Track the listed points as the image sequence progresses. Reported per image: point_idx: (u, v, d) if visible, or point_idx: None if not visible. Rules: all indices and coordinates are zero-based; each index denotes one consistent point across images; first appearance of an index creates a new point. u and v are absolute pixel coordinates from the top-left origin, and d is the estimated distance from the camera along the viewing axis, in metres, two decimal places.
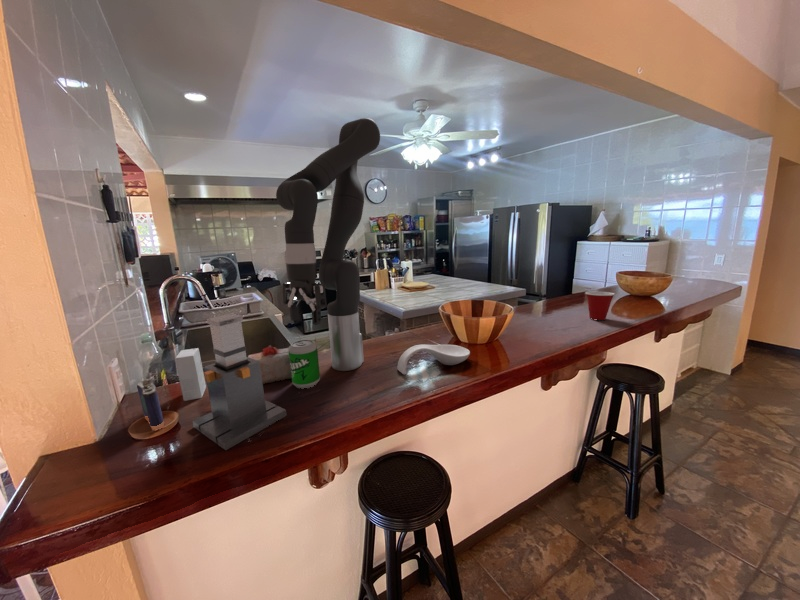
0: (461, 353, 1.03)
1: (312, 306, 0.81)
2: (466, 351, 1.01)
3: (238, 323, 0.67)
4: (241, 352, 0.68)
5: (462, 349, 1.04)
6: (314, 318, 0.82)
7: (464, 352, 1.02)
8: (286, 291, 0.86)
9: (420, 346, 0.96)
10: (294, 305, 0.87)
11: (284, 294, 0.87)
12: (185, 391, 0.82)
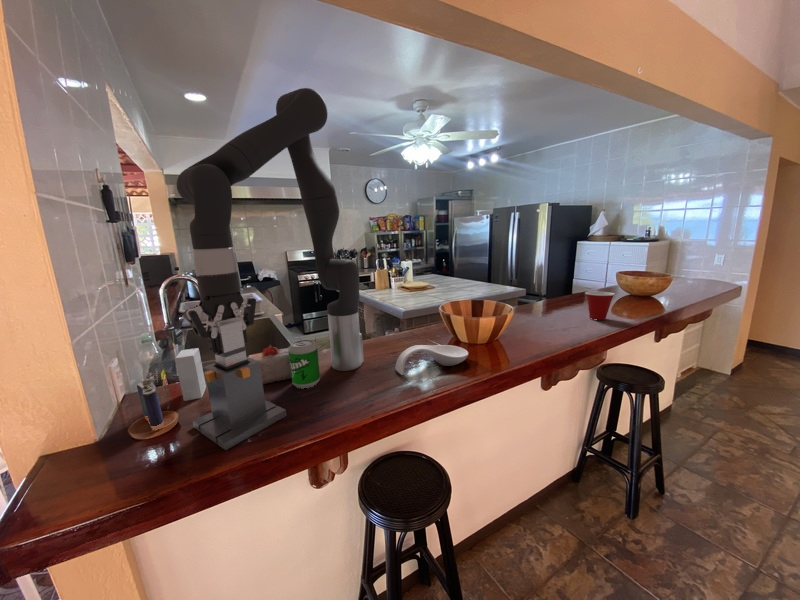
0: (459, 353, 1.03)
1: (243, 324, 0.69)
2: (465, 352, 1.01)
3: (238, 323, 0.67)
4: (241, 352, 0.68)
5: (461, 350, 1.03)
6: (244, 338, 0.70)
7: (463, 353, 1.02)
8: (199, 320, 0.62)
9: (418, 346, 0.96)
10: None
11: (199, 325, 0.62)
12: (185, 391, 0.82)
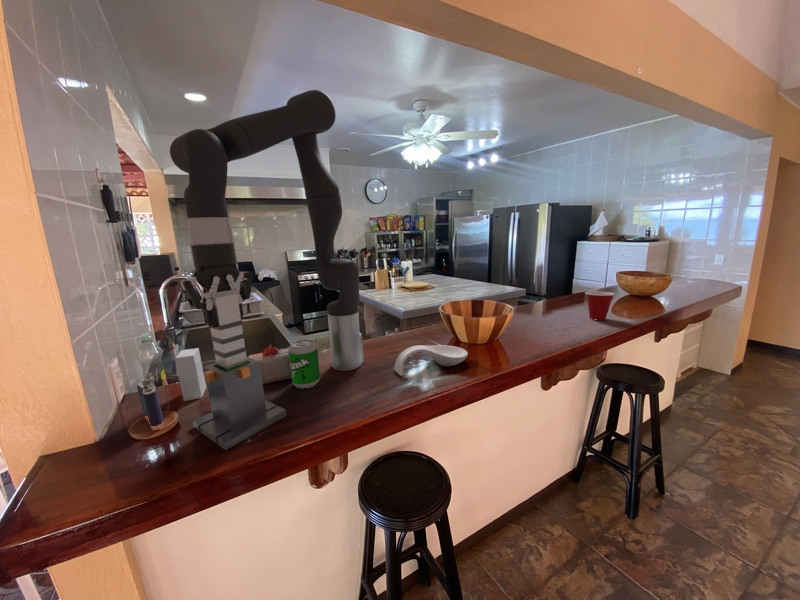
0: (459, 354, 1.02)
1: (239, 298, 0.68)
2: (464, 352, 1.01)
3: (234, 296, 0.66)
4: (237, 326, 0.67)
5: (460, 350, 1.03)
6: (240, 312, 0.69)
7: (462, 353, 1.01)
8: None
9: (417, 347, 0.96)
10: None
11: (194, 296, 0.61)
12: (185, 391, 0.82)
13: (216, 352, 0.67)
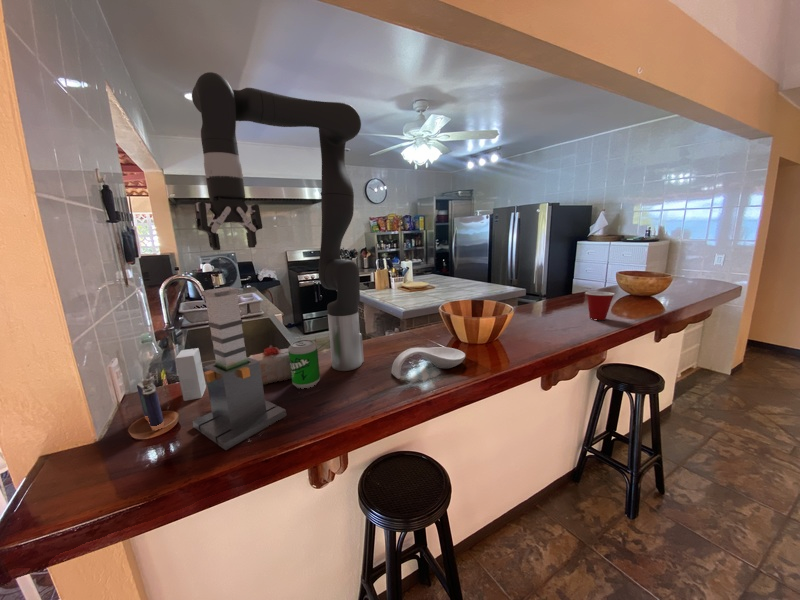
0: (456, 355, 1.01)
1: (252, 227, 0.78)
2: (461, 354, 0.99)
3: (234, 295, 0.66)
4: (237, 325, 0.67)
5: (457, 352, 1.02)
6: (254, 240, 0.79)
7: (459, 355, 1.00)
8: None
9: (415, 349, 0.94)
10: None
11: (204, 217, 0.69)
12: (185, 391, 0.82)
13: (216, 351, 0.67)
